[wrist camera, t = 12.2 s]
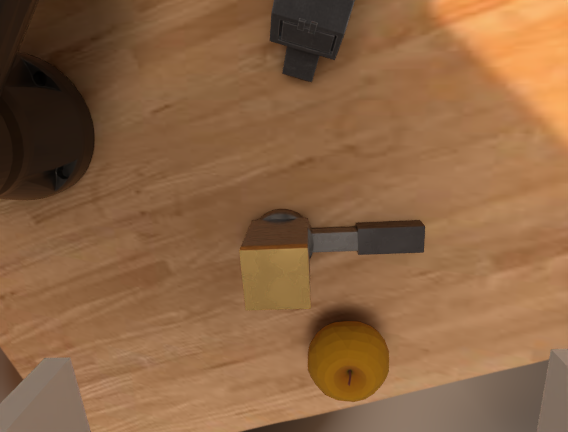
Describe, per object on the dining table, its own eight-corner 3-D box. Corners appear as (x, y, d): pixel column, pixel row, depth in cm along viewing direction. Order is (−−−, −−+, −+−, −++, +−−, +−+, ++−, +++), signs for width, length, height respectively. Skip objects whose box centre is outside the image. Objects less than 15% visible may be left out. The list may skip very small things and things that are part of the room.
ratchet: (254, 267, 46) (246, 297, 39) (249, 210, 44) (239, 232, 37) (417, 261, 45) (437, 291, 38) (420, 202, 42) (441, 223, 36)
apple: (366, 290, 46) (380, 336, 38) (391, 350, 48) (409, 405, 40) (296, 314, 48) (294, 364, 39) (323, 371, 50) (327, 429, 41)
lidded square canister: (256, 270, 44) (245, 310, 36) (251, 220, 42) (239, 250, 34) (310, 268, 43) (310, 308, 36) (307, 217, 42) (307, 247, 34)
